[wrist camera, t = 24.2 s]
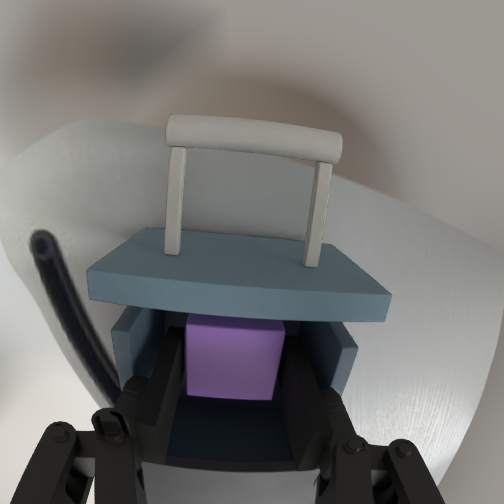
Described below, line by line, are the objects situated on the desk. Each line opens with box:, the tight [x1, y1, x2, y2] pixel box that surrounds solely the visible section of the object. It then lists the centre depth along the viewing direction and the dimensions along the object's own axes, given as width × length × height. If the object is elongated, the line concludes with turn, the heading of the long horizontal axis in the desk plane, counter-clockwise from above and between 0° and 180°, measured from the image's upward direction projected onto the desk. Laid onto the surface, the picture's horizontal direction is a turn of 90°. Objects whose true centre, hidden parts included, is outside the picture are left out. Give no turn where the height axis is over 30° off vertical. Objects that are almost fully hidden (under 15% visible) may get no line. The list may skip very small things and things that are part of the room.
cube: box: [185, 313, 285, 400], centre depth 15 cm, size 4×4×4 cm
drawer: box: [87, 114, 392, 462], centre depth 14 cm, size 19×11×8 cm, turn 174°
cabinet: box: [141, 454, 320, 504], centre depth 18 cm, size 15×13×10 cm
